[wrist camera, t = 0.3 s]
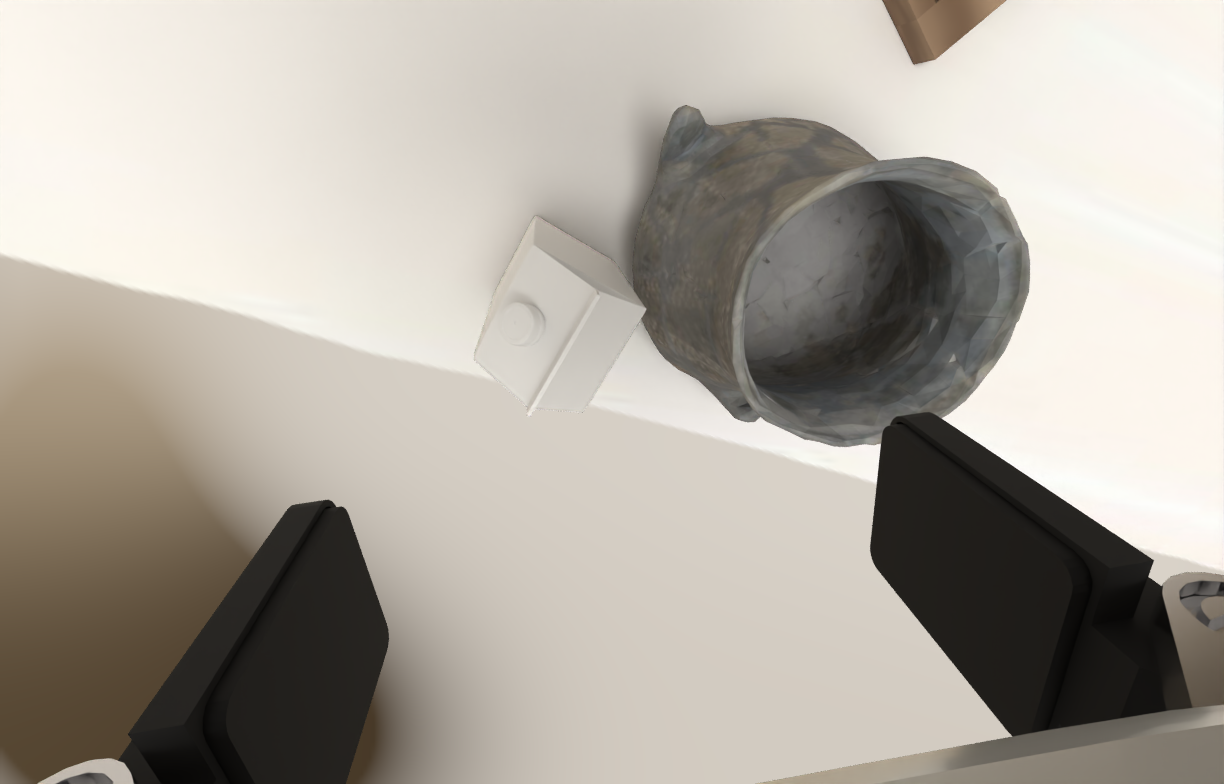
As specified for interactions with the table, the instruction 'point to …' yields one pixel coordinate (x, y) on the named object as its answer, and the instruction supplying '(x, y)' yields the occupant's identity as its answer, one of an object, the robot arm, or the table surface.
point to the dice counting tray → (936, 23)
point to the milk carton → (556, 321)
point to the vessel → (824, 276)
